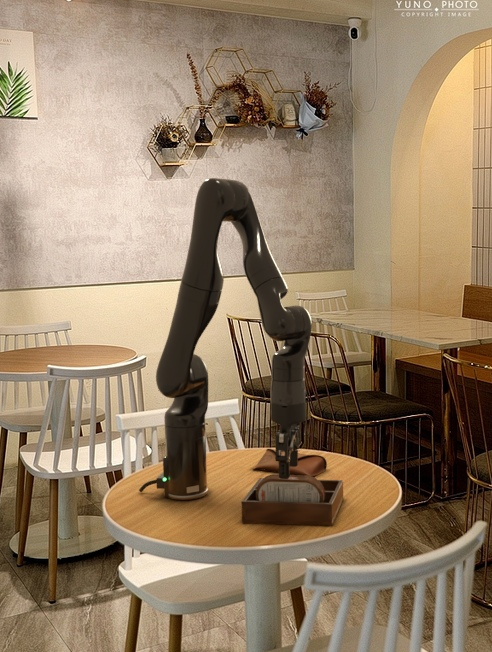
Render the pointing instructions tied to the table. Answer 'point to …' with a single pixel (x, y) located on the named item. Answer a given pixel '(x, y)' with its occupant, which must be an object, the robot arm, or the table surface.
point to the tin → (290, 489)
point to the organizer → (294, 508)
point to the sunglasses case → (305, 467)
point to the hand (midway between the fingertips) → (288, 472)
